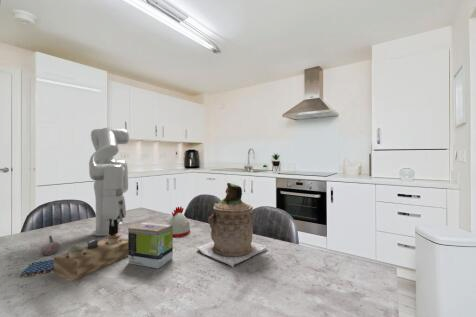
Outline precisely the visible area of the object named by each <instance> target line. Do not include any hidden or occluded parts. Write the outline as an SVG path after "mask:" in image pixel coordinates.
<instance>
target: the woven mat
mask: <svg viewBox="0 0 476 317" xmlns="http://www.w3.org/2000/svg"><path fill="white" fill-rule="evenodd" d="M50 272H51V273H54V258H53V259H45V260H42V261H41V260H38V261H33V262H32V263H31V264H29V266H27V267H26V268H25V269H24V270H23V271H21V273H20V274H19V276H20V278H23V277H31V275H32V276H35V275H37V276H38V275H39V274H40V275H42V274H46V273H47V274H49V273H50Z"/></svg>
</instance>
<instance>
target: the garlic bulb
mask: <svg viewBox="0 0 476 317" xmlns="http://www.w3.org/2000/svg"><path fill="white" fill-rule="evenodd" d="M48 239H49V243H47V244H44V245H43V246H42V247H40V248H41V250H40V252H41V253H42V254H43V255H47V256H50V255H52V254H53V253H56V252H58V251H59V250H60V248H61V243H60V242H59V241H54V239H53V236H52V235H49V236H48Z"/></svg>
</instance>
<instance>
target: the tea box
mask: <svg viewBox="0 0 476 317" xmlns="http://www.w3.org/2000/svg"><path fill="white" fill-rule="evenodd" d="M127 229H128V232H127V234H128V236H127V237H128V238H127V240H128V256H127V257H128V260H127V261H128V263H129V264H132V265H137V266H138V265H139V266H143V267H148V268H153V269H160V268H162V267H163V266H164V265H165V264H167V263H169V262H170V261H171V260H173V258H174V257H173V256H174V255H173V254H174V253H173V252H174V251H173V250H174V247H173V243H174V242H173V241H174V239H173V238H174V237H173V231H172V225H171V224H167V223H159V222H146V221H145V222H141V223H139V224H137V225H136V224H135V225H133V226H130V227H128V228H127Z"/></svg>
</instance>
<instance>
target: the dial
mask: <svg viewBox="0 0 476 317" xmlns="http://www.w3.org/2000/svg"><path fill="white" fill-rule="evenodd" d="M98 242H99V240H98V239H90V240H88V241H87V245H86V246H87V248H88V249H93V248H96V247H98Z"/></svg>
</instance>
